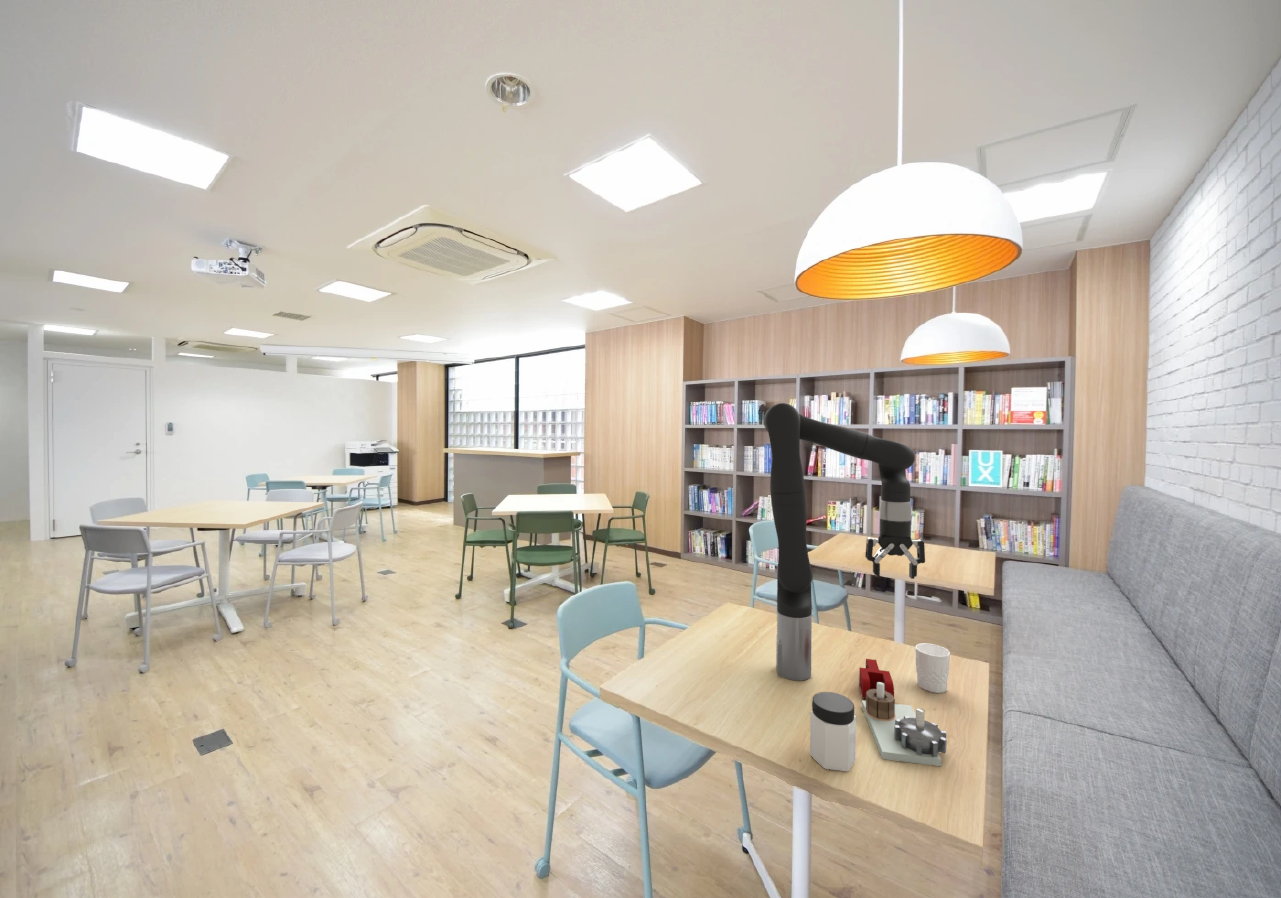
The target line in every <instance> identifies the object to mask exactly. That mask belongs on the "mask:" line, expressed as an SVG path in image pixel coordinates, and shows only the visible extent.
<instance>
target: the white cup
mask: <svg viewBox="0 0 1281 898" xmlns="http://www.w3.org/2000/svg"><path fill="white" fill-rule="evenodd" d="M950 661H951V651H949V649H947V648H946V647H943V646H941V645H938V644H934V643H927V642H924V643H923V642H921V643H917V644H916V645H915V667H916V668H915V669H916V683H917V685H918V686H919V688H921V689H923V690H925V691H927V692H930V693H935V694H936V693H937V694H941V693H944V692H947V689H948V680H949V674H950V673H949V672H950Z"/></svg>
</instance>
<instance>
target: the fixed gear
mask: <svg viewBox="0 0 1281 898" xmlns="http://www.w3.org/2000/svg"><path fill="white" fill-rule="evenodd" d="M915 714H916V718H910V717H908V716H904V719H901V720H900V719H897V718H896V719H895V725H894V738H895V740H899V741H900V742H901V743H902V746H901V747H903V748H904V749H907V748H909V749H911V750H913V751H915V752H916V754H918V755H921V756H922V754H929V755H932V756H933V757H937V754H939V753H941V754H943V755H945V754H946V753H947V731H946V730H944V729H943V730H941V729H940V728H939V725H938V724H937V723H935V722H930V721H927V720H925V714H926V713H925V709H924V708H920V707H916V708H915Z"/></svg>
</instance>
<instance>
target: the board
mask: <svg viewBox="0 0 1281 898" xmlns="http://www.w3.org/2000/svg"><path fill="white" fill-rule="evenodd" d="M877 698H879V699H884V683H881V682H877ZM861 707H862V710H863V713H864V715H865V718H866V721H867V723H868V725H869V728H870V732H871V733H872V734H871V735H872V736H873V738H874V741H875V743H876V746H877V749H878V751H879V755H880V756H881V757H880V758H881V759H882V760H889V761H896V762H898V761H899V762H903V763H905V762H906V763H912V764H919V765H920V764H921V765H927V766H934V767H936V766H937V767H942V758H941V756H940V754H939V753H938V754H937V757H933V756H932V755H929V754H922V756H921V755H918V754H916V752H915V751H913V750H911V749H909V748H907V749H904V748H903V747H901V746H902V743H901V742H900V741H899V740H895V738H894V725H895V719H896V718H897V719H900V720H901V719H904V716H908V717H910V718H916V711H915V710H914V708H913V707H912V705H909V704H900V703H895V716H894V717H893V718H891V719H890V720H889V719H888V720H885V719H878V718H875V717H873V716H871V715H869V713H867V710H866V700H861Z"/></svg>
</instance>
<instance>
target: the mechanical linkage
mask: <svg viewBox="0 0 1281 898" xmlns="http://www.w3.org/2000/svg"><path fill="white" fill-rule="evenodd" d="M858 680H859V681H858V682H859V683H858V684H859V690H860V694H861V698H862V699H866V691H868V690H870V689H872V690H873V689H877V682H881V683H884V691H886V692H888V693H890V694H891V695H893V697H894V698H895V686H894V681H893V678H892V675H891V672H890V670H889V671H888V670H881V669H880V668H879V666H878V662H877V659H872V658H871V659H870V658H866V659H865V667H859V679H858Z"/></svg>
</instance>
